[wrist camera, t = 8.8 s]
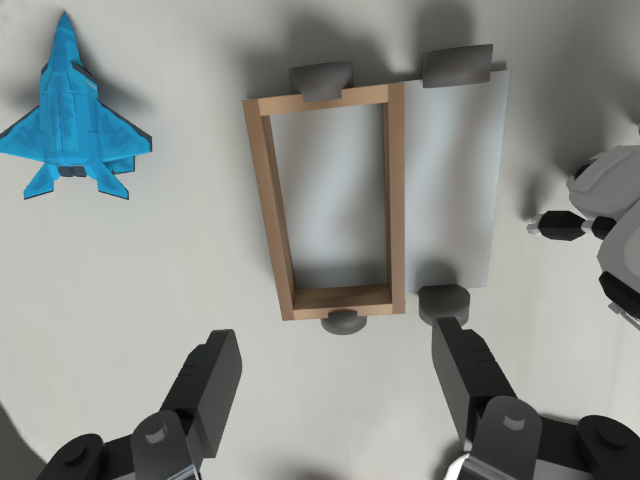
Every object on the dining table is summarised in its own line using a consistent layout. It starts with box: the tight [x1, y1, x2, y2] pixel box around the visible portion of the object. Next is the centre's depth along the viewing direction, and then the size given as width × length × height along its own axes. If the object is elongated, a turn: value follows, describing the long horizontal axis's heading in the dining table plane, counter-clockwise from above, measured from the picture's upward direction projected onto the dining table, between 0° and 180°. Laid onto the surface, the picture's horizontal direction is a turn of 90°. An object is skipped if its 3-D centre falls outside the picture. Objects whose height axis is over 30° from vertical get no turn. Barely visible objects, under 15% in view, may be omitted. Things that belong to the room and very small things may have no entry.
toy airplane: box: [0, 12, 152, 200], centre depth 24 cm, size 12×10×4 cm
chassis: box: [242, 44, 511, 335], centre depth 26 cm, size 18×20×4 cm
